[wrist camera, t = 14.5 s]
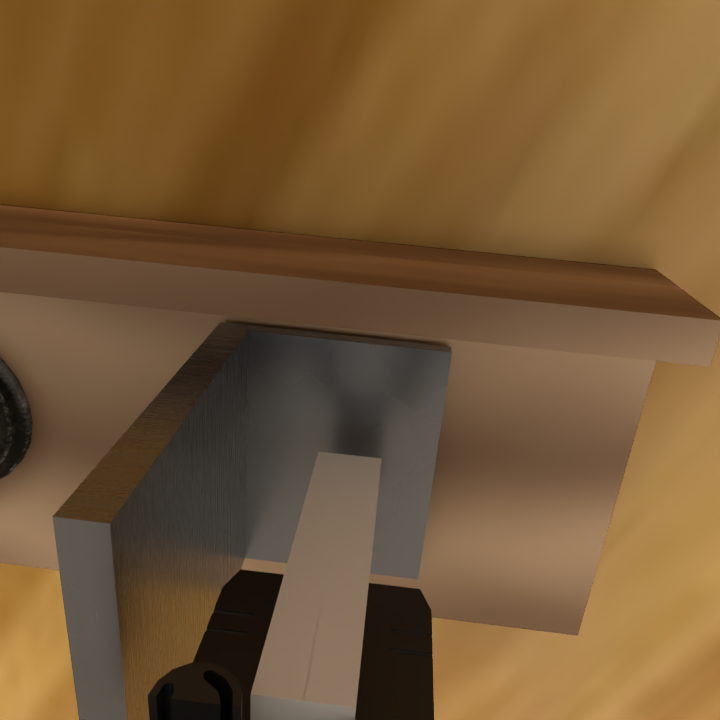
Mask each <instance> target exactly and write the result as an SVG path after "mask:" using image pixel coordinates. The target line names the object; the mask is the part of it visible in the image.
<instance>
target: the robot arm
mask: <svg viewBox="0 0 720 720" xmlns="http://www.w3.org/2000/svg"><path fill="white" fill-rule="evenodd" d="M381 459H382V458H373V457H364V456H355V455H345V454H336V453H327V452H318V455H317V459H316V462H315V466H314V469H313V473H312V476H311V480H310V484H309V487H308V491H307V494H306V498H305V501H304V505H303V509H302V512H301V516H300V519H299V523H298V526H297V530H296V534H295V537H294V541H293V544H292V548H291V551H290V555H289V559H288V562H287V566H286V569H285V573H284V574H276V573H267V572H259V571H250V570H242V569H240V570H239V571H238V572H237V573H236V574H235V575H234V576H233V577H232V578H231V579H230V580H229V581H228V582H227V583H226V584H225V585H224V586H223V587H222V590H221V592H220V595H219V597H218V600H217V602H216V605H215V608H214V612H213V613H212V615H211V618H210V620H209V623H208V625H207V630H206V631H205V633H204V635H203V638H202V640H201V643H200V645H199V648H198V650H197V653H196V655H195V658H194V660H193V663H189V664H186V665H183V666H180V667H178V668H175V669H173V670H171V671H170V672H169V673H167V674H166V675H164V676H163V677H162V678H160V679H159V680H158V681H157V682H156V684H155V685H154V687H153V688H152V690H151V691H150V693H149V694H148V707H149V720H434V702H433V659H432V617H431V609H430V607H429V605H428V603H427V601H426V599H425V597H424V595H423V593H422V592H421V590H420V589H417V588H408V587H400V586H391V585H383V584H374V583H369V578H370V568H371V558H372V548H373V539H374V529H375V519H376V509H377V499H378V489H379V479H380V469H381Z"/></svg>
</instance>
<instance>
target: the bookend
mask: <svg viewBox="0 0 720 720" xmlns="http://www.w3.org/2000/svg"><path fill="white" fill-rule="evenodd" d="M451 356H452V349H451V346H442V345H432V344H423V343H413V342H404V341H394V340H385V339H376V338H366V337H357V336H347V335H338V334H328V333H319V332H310V331H300V330H291V329H281V328H272V327H262V326H253V325H243V324H234V323H225V322H220V323H219V324H218V325H217V326H216V328H215V329H214V330H213V331H212V332H211V333H210V335H209V336H208V337H207V338H206V339H205V340H204V341H203V343H202V344H201V345H200V346H199V347H198V348H197V350H196V351H195V352H194V353H193V354H192V355H191V357H190V358H189V359H188V360H187V361H186V362H185V364H184V365H183V366H182V367H181V368H180V369H179V370H178V372H177V373H176V374H175V375H174V376H173V377H172V379H171V380H170V381H169V382H168V383H167V384H166V386H165V387H164V388H163V389H162V390H161V391H160V392H159V394H158V395H157V396H156V397H155V398H154V399H153V401H152V402H151V403H150V404H149V405H148V406H147V408H146V409H145V410H144V411H143V412H142V413H141V414H140V416H139V417H138V418H137V419H136V420H135V421H134V423H133V424H132V425H131V426H130V427H129V428H128V430H127V431H126V432H125V433H124V434H123V435H122V437H121V438H120V439H119V440H118V441H117V442H116V443H115V445H114V446H113V447H112V448H111V449H110V450H109V452H108V453H107V454H106V455H105V456H104V457H103V459H102V460H101V461H100V462H99V463H98V464H97V465H96V467H95V468H94V469H93V470H92V471H91V472H90V474H89V475H88V476H87V477H86V478H85V479H84V481H83V482H82V483H81V484H80V485H79V486H78V488H77V489H76V490H75V491H74V492H73V493H72V494H71V496H70V497H69V498H68V499H67V500H66V501H65V503H64V504H63V505H62V506H61V507H60V508H59V510H58V511H57V512H56V513H55V514H54V515H53V516H52V518H53V525H54V533H55V540H56V548H57V556H58V563H59V571H60V578H61V586H62V593H63V601H64V608H65V616H66V624H67V631H68V639H69V646H70V654H71V661H72V669H73V677H74V684H75V692H76V699H77V707H78V714H79V720H149V707H148V694H149V693H150V691H151V690H152V688H153V687H154V685H155V684H156V682H157V681H158V680H159V679H160V678H162V677H163V676H164V675H166V674H167V673H169V672H170V671H171V670H173V669H175V668H178V667H180V666H183V665H186V664H189V663H193V660H194V658H195V655H196V653H197V650H198V648H199V645H200V643H201V640H202V638H203V635H204V633H205V631H206V630H207V625H208V623H209V620H210V618H211V615H212V613H213V612H214V608H215V605H216V602H217V600H218V597H219V595H220V592H221V590H222V587H223V586H224V585H225V584H226V583H227V582H228V581H229V580H230V579H231V578H232V577H233V576H234V575H235V574H236V573H237V572H238V571H239V570H240V569H241V567H242V565H243V562H244V559H245V558H248V559H256V560H264V561H272V562H281V563H287V562H288V559H289V555H290V551H291V548H292V544H293V541H294V537H295V534H296V530H297V526H298V523H299V519H300V516H301V512H302V509H303V505H304V501H305V498H306V494H307V491H308V487H309V484H310V480H311V476H312V473H313V469H314V466H315V462H316V459H317V455H318V452H327V453H336V454H345V455H355V456H364V457H373V458H382V459H381V469H380V479H379V489H378V499H377V509H376V519H375V529H374V539H373V548H372V558H371V568H370V574H378V575H386V576H394V577H402V578H410V579H418V578H419V571H420V564H421V557H422V551H423V544H424V537H425V531H426V524H427V517H428V510H429V504H430V497H431V490H432V483H433V477H434V470H435V463H436V457H437V450H438V443H439V436H440V430H441V423H442V416H443V409H444V403H445V396H446V389H447V382H448V376H449V369H450V362H451Z"/></svg>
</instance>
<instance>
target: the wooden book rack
mask: <svg viewBox="0 0 720 720" xmlns="http://www.w3.org/2000/svg"><path fill="white" fill-rule="evenodd" d="M220 322H225V323H234V324H243V325H253V326H262V327H272V328H281V329H291V330H300V331H310V332H319V333H328V334H338V335H347V336H357V337H366V338H376V339H385V340H394V341H404V342H413V343H423V344H432V345H442V346H451V349H452V356H451V362H450V369H449V376H448V382H447V389H446V396H445V403H444V409H443V416H442V423H441V430H440V436H439V443H438V450H437V457H436V463H435V470H434V477H433V483H432V490H431V497H430V504H429V510H428V517H427V524H426V531H425V537H424V544H423V551H422V557H421V564H420V571H419V578H418V579H410V578H402V577H394V576H386V575H378V574H370V578H369V583H374V584H383V585H391V586H400V587H408V588H417V589H420V590H421V592H422V593H423V595H424V597H425V599H426V601H427V603H428V605H429V607H430V609H431V617H435V618H443V619H451V620H459V621H467V622H475V623H483V624H490V625H498V626H506V627H514V628H522V629H530V630H538V631H546V632H554V633H562V634H570V635H578V633H579V629H580V626H581V622H582V619H583V615H584V612H585V608H586V605H587V601H588V598H589V594H590V591H591V587H592V584H593V580H594V577H595V573H596V570H597V566H598V563H599V559H600V556H601V552H602V549H603V545H604V542H605V538H606V535H607V531H608V528H609V524H610V521H611V517H612V514H613V510H614V507H615V503H616V500H617V496H618V493H619V489H620V486H621V482H622V479H623V475H624V472H625V468H626V465H627V461H628V458H629V454H630V451H631V447H632V444H633V441H634V437H635V434H636V430H637V427H638V423H639V420H640V416H641V413H642V409H643V406H644V402H645V399H646V395H647V392H648V388H649V385H650V381H651V378H652V374H653V371H654V367H655V364H656V361H659V362H668V363H678V364H687V365H697V366H706V367H710V364H711V361H712V358H713V355H714V352H715V349H716V346H717V343H718V340H719V337H720V317H718V316H717V315H716V314H714V313H713V312H712V311H710V310H709V309H708V308H706V307H705V306H704V305H702V304H701V303H700V302H698V301H697V300H696V299H694V298H693V297H692V296H690V295H689V294H688V293H686V292H685V291H684V290H682V289H681V288H680V287H678V286H677V285H676V284H674V283H673V282H672V281H670V280H669V279H668V278H666V277H665V276H664V275H662V274H661V273H660V272H658V271H657V270H653V269H643V268H633V267H623V266H613V265H602V264H592V263H582V262H572V261H562V260H552V259H542V258H532V257H522V256H511V255H501V254H491V253H481V252H471V251H461V250H451V249H441V248H431V247H421V246H410V245H400V244H390V243H380V242H370V241H360V240H350V239H340V238H330V237H319V236H309V235H299V234H289V233H279V232H269V231H259V230H249V229H239V228H229V227H218V226H208V225H198V224H188V223H178V222H168V221H158V220H148V219H138V218H127V217H117V216H107V215H97V214H87V213H77V212H67V211H57V210H47V209H37V208H26V207H16V206H6V205H0V357H1V358H2V359H3V360H4V362H5V363H6V364H7V365H8V367H9V368H10V369H11V371H12V372H13V373H14V374H15V376H16V377H17V378H18V380H19V382H20V384H21V386H22V389H23V391H24V393H25V395H26V397H27V399H28V402H29V407H30V412H31V417H32V422H33V424H32V435H31V443H30V446H29V448H28V450H27V452H26V454H25V457H24V459H23V460H22V461H21V462H20V464H19V465H18V466H17V467H16V468H15V469H14V470H13V471H12V472H11V473H10V474H9V475H7V476H5V477H4V478H2V479H0V563H6V564H14V565H22V566H30V567H37V568H45V569H53V570H59V563H58V556H57V548H56V540H55V533H54V525H53V518H52V516H53V515H54V514H55V513H56V512H57V511H58V510H59V508H60V507H61V506H62V505H63V504H64V503H65V501H66V500H67V499H68V498H69V497H70V496H71V494H72V493H73V492H74V491H75V490H76V489H77V488H78V486H79V485H80V484H81V483H82V482H83V481H84V479H85V478H86V477H87V476H88V475H89V474H90V472H91V471H92V470H93V469H94V468H95V467H96V465H97V464H98V463H99V462H100V461H101V460H102V459H103V457H104V456H105V455H106V454H107V453H108V452H109V450H110V449H111V448H112V447H113V446H114V445H115V443H116V442H117V441H118V440H119V439H120V438H121V437H122V435H123V434H124V433H125V432H126V431H127V430H128V428H129V427H130V426H131V425H132V424H133V423H134V421H135V420H136V419H137V418H138V417H139V416H140V414H141V413H142V412H143V411H144V410H145V409H146V408H147V406H148V405H149V404H150V403H151V402H152V401H153V399H154V398H155V397H156V396H157V395H158V394H159V392H160V391H161V390H162V389H163V388H164V387H165V386H166V384H167V383H168V382H169V381H170V380H171V379H172V377H173V376H174V375H175V374H176V373H177V372H178V370H179V369H180V368H181V367H182V366H183V365H184V364H185V362H186V361H187V360H188V359H189V358H190V357H191V355H192V354H193V353H194V352H195V351H196V350H197V348H198V347H199V346H200V345H201V344H202V343H203V341H204V340H205V339H206V338H207V337H208V336H209V335H210V333H211V332H212V331H213V330H214V329H215V328H216V326H217V325H218V324H219V323H220ZM286 566H287V563H281V562H272V561H264V560H256V559H248V558H245V559H244V562H243V565H242V567H241V569H242V570H250V571H259V572H267V573H276V574H284V573H285V569H286Z"/></svg>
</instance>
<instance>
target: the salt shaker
mask: <svg viewBox="0 0 720 720" xmlns="http://www.w3.org/2000/svg"><path fill="white" fill-rule="evenodd" d="M32 424H33V422H32V417H31V412H30V407H29V402H28V399H27V397H26V395H25V393H24V391H23V389H22V386H21V384H20V382H19V380H18V378H17V377H16V376H15V374H14V373H13V372H12V371H11V369H10V368H9V367H8V365H7V364H6V363H5V362H4V360H3V359H2V358H1V357H0V479H2V478H4V477H5V476H7V475H9V474H10V473H11V472H12V471H13V470H14V469H15V468H16V467H17V466H18V465H19V464H20V462H21V461H22V460H23V459H24V457H25V454H26V452H27V450H28V448H29V446H30V443H31V435H32Z"/></svg>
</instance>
